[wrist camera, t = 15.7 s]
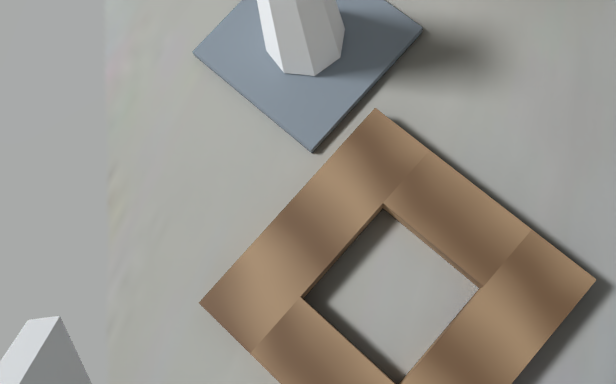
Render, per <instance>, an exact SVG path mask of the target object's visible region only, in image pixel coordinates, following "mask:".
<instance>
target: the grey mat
mask: <svg viewBox="0 0 616 384" xmlns="http://www.w3.org/2000/svg"><path fill="white" fill-rule="evenodd" d="M336 3H337V6H338V9H339V12H340V15H341V18H342V21H343V24H344V27H345V32H344V38H343V44H342V51H341V57H340V58H339V59H338V60H336V61H335V62H333V63H332V64H331V65H329V66H328V67H327V68H325V69H324V70H322V71H321V72H320V73H318V74H317V75H315V76H310V75H300V74H290V73H284V72H283V71H282V70H281V69H280V67H279V66H278V65H277V64H276V62H275V61H274V60H273V59H272V57H271V56H270V55H269V54H268V52H267V51H266V47H265V41H264V36H263V31H262V25H261V20H260V15H259V9H258V4H257V0H242V1H241V2H240V3H239V4H238V5H237V6H236V7H235V8H234V9H233V10H232V11H231V12H230V13H229V14H228V15H227V16H226V17H225V18H224V19H223V20H222V21H221V22H220V23H219V25H218V26H217V27H216V28H215V29H214V30H213V31H212V32H211V33H210V34H209V35H208V36H207V37H206V38H205V39H204V40H203V41H202V42H201V43H200V44H199V45H198V46H197V47H196V48H195V49H194V51H193V54H194V55H195V56H196V57H197V58H198V59H199V60H200V61H202V62H203V63H204V64H205V65H206V66H208V67H209V68H210V69H211V70H212V71H214V72H215V73H216V74H217V75H218V76H220V77H221V78H222V79H223V80H224V81H226V82H227V83H228V84H229V85H230V86H232V87H233V88H234V89H235V90H236V91H238V92H239V93H240V94H241V95H242V96H244V97H245V98H246V99H247V100H248V101H250V102H251V103H252V104H253V105H254V106H256V107H257V108H258V109H259V110H261V111H262V112H263V113H264V114H265V115H267V116H268V117H269V118H270V119H271V120H273V121H274V122H275V123H276V124H277V125H279V126H280V127H281V128H282V129H283V130H285V131H286V132H287V133H288V134H289V135H291V136H292V137H293V138H294V139H295V140H297V141H298V142H299V143H300V144H301V145H303V146H304V147H305V148H306V149H307V150H309V151H310V152H311V153H313V152H314V150H315V149H316V148H317V147H318V146H319V145H320V144H321V143H322V142H323V141H324V139H325V138H326V137H327V136H328V135H329V134H330V133H331V132H332V131H333V130H334V128H335V127H336V126H337V125H338V124H339V123H340V122H341V121H342V120H343V119H344V117H345V116H346V115H347V114H348V113H349V112H350V111H351V110H352V109H353V108H354V107H355V105H356V104H357V103H358V102H359V101H360V100H361V99H362V98H363V97H364V96H365V94H366V93H367V92H368V91H369V90H370V89H371V88H372V87H373V86H374V85H375V83H376V82H377V81H378V80H379V79H380V78H381V77H382V76H383V75H384V74H385V72H386V71H387V70H388V69H389V68H390V67H391V66H392V65H393V64H394V63H395V61H396V60H397V59H398V58H399V57H400V56H401V55H402V54H403V53H404V52H405V50H406V49H407V48H408V47H409V46H410V45H411V44H412V43H413V42H414V41H415V39H416V38H417V37H418V36H419V35H420V34H421V33H422V30H423V27H421V26H420V25H419V24H417V23H416V22H414V21H413V20H412V19H410V18H409V17H407V16H406V15H405V14H403V13H402V12H400V11H399V10H398V9H396V8H395V7H393V6H392V5H391V4H389V3H388V2H386V1H385V0H336Z"/></svg>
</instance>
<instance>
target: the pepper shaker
mask: <svg viewBox="0 0 616 384" xmlns="http://www.w3.org/2000/svg"><path fill="white" fill-rule="evenodd" d="M257 4H258V9H259V15H260V20H261V25H262V31H263V36H264V41H265V47H266V51H267V52H268V54H269V55H270V56H271V57H272V59H273V60H274V61H275V62H276V64H277V65H278V66H279V67H280V69H281V70H282V71H283V72H284V73H290V74H300V75H310V76H315V75H317V74H318V73H320V72H321V71H322V70H324V69H325V68H327V67H328V66H329V65H331V64H332V63H333V62H335V61H336V60H338V59H339V58H340V57H341V51H342V44H343V38H344V32H345V27H344V24H343V21H342V18H341V15H340V12H339V9H338V6H337V3H336V0H257Z"/></svg>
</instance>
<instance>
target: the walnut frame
mask: <svg viewBox="0 0 616 384" xmlns="http://www.w3.org/2000/svg"><path fill="white" fill-rule="evenodd" d="M382 209H384V210H386V211H387V212H388V213H389V214H391V215H392V216H393V217H394V218H395V219H397V220H398V221H399V222H400V223H401V224H403V225H404V226H405V227H406V228H407V229H409V230H410V231H411V232H412V233H413V234H415V235H416V236H417V237H418V238H419V239H421V240H422V241H423V242H424V243H425V244H427V245H428V246H429V247H430V248H432V249H433V250H434V251H435V252H436V253H438V254H439V255H440V256H441V257H442V258H444V259H445V260H446V261H447V262H448V263H450V264H451V265H452V266H453V267H454V268H456V269H457V270H458V271H459V272H460V273H462V274H463V275H464V276H465V277H466V278H468V279H469V280H470V281H471V282H472V283H474V284H475V285H476V286H477V287H479V290H478V291H477V292H476V293H475V294H474V295H473V297H472V298H471V299H470V300H469V301H468V303H467V304H466V305H465V306H464V307H463V309H462V310H461V311H460V312H459V313H458V314H457V316H456V317H455V318H454V319H453V320H452V322H451V323H450V324H449V325H448V326H447V327H446V329H445V330H444V331H443V332H442V333H441V335H440V336H439V337H438V338H437V339H436V341H435V342H434V343H433V344H432V345H431V346H430V348H429V349H428V350H427V351H426V352H425V354H424V355H423V356H422V357H421V358H420V360H419V361H418V362H417V363H416V364H415V365H414V367H413V368H412V369H411V370H410V371H409V373H408V374H407V375H406V376H405V377H404V378H403V380H402V381H401V382H400V383H399V384H512V383H513V381H514V380H515V379H516V378H517V376H518V375H519V374H520V373H521V372H522V370H523V369H524V368H525V367H526V365H527V364H528V363H529V362H530V361H531V359H532V358H533V357H534V356H535V354H536V353H537V352H538V351H539V350H540V348H541V347H542V346H543V345H544V343H545V342H546V341H547V340H548V339H549V337H550V336H551V335H552V334H553V332H554V331H555V330H556V329H557V328H558V326H559V325H560V324H561V323H562V321H563V320H564V319H565V318H566V317H567V315H568V314H569V313H570V312H571V310H572V309H573V308H574V307H575V306H576V304H577V303H578V302H579V301H580V299H581V298H582V297H583V296H584V295H585V293H586V292H587V291H588V290H589V288H590V287H591V286H592V285H593V284H594V282H595V281H596V279H595V278H594V277H593V276H591V275H590V274H589V273H587V272H586V271H585V270H584V269H582V268H581V267H580V266H578V265H577V264H576V263H575V262H573V261H572V260H571V259H569V258H568V257H567V256H565V255H564V254H563V253H562V252H560V251H559V250H558V249H556V248H555V247H554V246H553V245H551V244H550V243H549V242H547V241H546V240H545V239H544V238H542V237H541V236H540V235H538V234H537V233H536V232H535V231H533V230H532V229H531V228H529V227H528V226H527V225H526V224H524V223H523V222H522V221H520V220H519V219H518V218H517V217H515V216H514V215H513V214H511V213H510V212H509V211H508V210H506V209H505V208H504V207H502V206H501V205H500V204H499V203H497V202H496V201H495V200H493V199H492V198H491V197H489V196H488V195H487V194H486V193H484V192H483V191H482V190H480V189H479V188H478V187H477V186H475V185H474V184H473V183H471V182H470V181H469V180H468V179H466V178H465V177H464V176H462V175H461V174H460V173H459V172H457V171H456V170H455V169H453V168H452V167H451V166H450V165H448V164H447V163H446V162H444V161H443V160H442V159H441V158H439V157H438V156H437V155H435V154H434V153H433V152H432V151H430V150H429V149H428V148H426V147H425V146H424V145H422V144H421V143H420V142H419V141H417V140H416V139H415V138H413V137H412V136H411V135H410V134H408V133H407V132H406V131H404V130H403V129H402V128H401V127H399V126H398V125H397V124H395V123H394V122H393V121H392V120H390V119H389V118H388V117H386V116H385V115H384V114H383V113H381V112H380V111H379V110H377V109H376V108H374V110H373V111H372V112H371V113H370V114H369V115H368V116H367V117H366V118H365V120H364V121H363V122H362V123H361V124H360V125H359V126H358V127H357V128H356V129H355V131H354V132H353V133H352V134H351V135H350V136H349V137H348V138H347V139H346V141H345V142H344V143H343V144H342V145H341V146H340V147H339V148H338V149H337V150H336V152H335V153H334V154H333V155H332V156H331V157H330V158H329V159H328V160H327V162H326V163H325V164H324V165H323V166H322V167H321V168H320V169H319V170H318V172H317V173H316V174H315V175H314V176H313V177H312V178H311V179H310V180H309V181H308V183H307V184H306V185H305V186H304V187H303V188H302V189H301V190H300V191H299V193H298V194H297V195H296V196H295V197H294V198H293V199H292V200H291V201H290V202H289V204H288V205H287V206H286V207H285V208H284V209H283V210H282V211H281V212H280V214H279V215H278V216H277V217H276V218H275V219H274V220H273V221H272V222H271V223H270V225H269V226H268V227H267V228H266V229H265V230H264V231H263V232H262V233H261V235H260V236H259V237H258V238H257V239H256V240H255V241H254V242H253V243H252V244H251V246H250V247H249V248H248V249H247V250H246V251H245V252H244V253H243V254H242V256H241V257H240V258H239V259H238V260H237V261H236V262H235V263H234V264H233V265H232V267H231V268H230V269H229V270H228V271H227V272H226V273H225V274H224V275H223V277H222V278H221V279H220V280H219V281H218V282H217V283H216V284H215V285H214V286H213V288H212V289H211V290H210V291H209V292H208V293H207V294H206V295H205V296H204V298H203V299H202V300H201V301H200V302H199V304H200V305H201V306H202V307H203V308H204V309H205V310H206V311H208V312H209V313H210V314H211V315H212V316H213V317H214V318H215V319H216V320H217V321H218V322H219V323H220V324H221V325H222V326H223V327H224V328H225V329H226V330H227V331H228V332H229V333H230V334H231V335H232V336H233V337H234V338H235V339H236V340H237V341H238V342H239V343H240V344H241V345H242V346H243V347H244V348H245V349H246V350H247V351H248V352H249V353H250V354H251V355H252V356H253V357H254V358H255V359H256V360H257V361H258V362H259V363H260V364H261V365H262V366H263V367H264V368H265V369H266V370H267V371H268V372H269V373H270V374H271V375H272V376H273V377H274V378H276V379H277V380H278V381H279V382H280V383H281V384H396V383H394V382H393V381H392V380H391V379H390V378H389V377H388V376H387V375H386V374H385V373H384V372H383V371H381V370H380V369H379V368H378V367H377V366H376V365H375V364H374V363H373V362H372V361H371V360H370V359H368V358H367V357H366V356H365V355H364V354H363V353H362V352H361V351H360V350H359V349H358V348H357V347H355V346H354V345H353V344H352V343H351V342H350V341H349V340H348V339H347V338H346V337H345V336H344V335H342V334H341V333H340V332H339V331H338V330H337V329H336V328H335V327H334V326H333V325H332V324H330V323H329V322H328V321H327V320H326V319H325V318H324V317H323V316H322V315H321V314H320V313H319V312H317V311H316V310H315V309H314V308H313V307H312V306H311V305H310V304H309V303H308V302H307V301H306V300H304V299H303V298H304V297H305V296H306V295H307V294H308V293H309V292H310V290H311V289H312V288H313V287H314V286H315V285H316V284H317V283H318V281H319V280H320V279H321V278H322V277H323V276H324V275H325V273H326V272H327V271H328V270H329V269H330V268H331V267H332V266H333V264H334V263H335V262H336V261H337V260H338V259H339V258H340V256H341V255H342V254H343V253H344V252H345V251H346V250H347V248H348V247H349V246H350V245H351V244H352V243H353V242H354V241H355V239H356V238H357V237H358V236H359V235H360V234H361V233H362V231H363V230H364V229H365V228H366V227H367V226H368V225H369V224H370V222H371V221H372V220H373V219H374V218H375V217H376V216H377V214H378V213H379V212H380V211H381V210H382Z"/></svg>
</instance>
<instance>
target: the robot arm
mask: <svg viewBox="0 0 616 384" xmlns="http://www.w3.org/2000/svg"><path fill="white" fill-rule="evenodd" d="M0 384H92V383H91V381H90V379H89V377H88V375H87V373H86V371H85V368H84V366H83V364H82V362H81V360H80V358H79V356H78V353H77V351H76V349H75V347H74V345H73V343H72V341H71V339H70V336H69V334H68V332H67V330H66V328H65V326H64V324H63V321H62V319H61V317H60V316H56V317H48V318H40V319H31V320H28V321H27V322H26V324H25V325H24V327H23V328H22V330H21V331H20V333H19V334H18V336H17V337H16V339H15V340H14V342H13V343H12V345H11V346H10V348H9V349H8V351H7V352H6V354H5V355H4V357H3V358H2V360H1V361H0Z"/></svg>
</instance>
